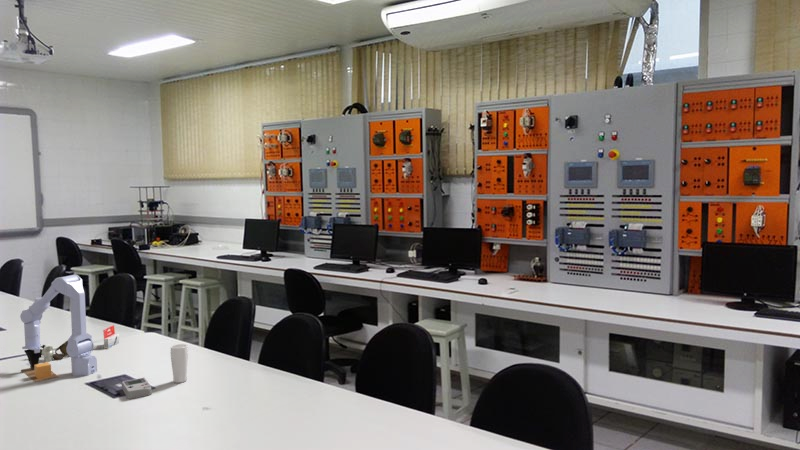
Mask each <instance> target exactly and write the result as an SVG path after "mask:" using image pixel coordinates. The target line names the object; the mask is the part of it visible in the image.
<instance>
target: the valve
mask: <svg viewBox="0 0 800 450" xmlns="http://www.w3.org/2000/svg"><path fill="white" fill-rule="evenodd" d="M53 349H54V348H53V346H51V345H50V346H46V344H42V345H41V347H40V350H42V353H41V355H40V358H42V356H43V362H44V363H46V362H48V363H49V362H52V361H54V358H53V354H54V350H53ZM40 358H39V359H40Z"/></svg>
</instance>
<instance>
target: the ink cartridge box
mask: <svg viewBox="0 0 800 450" xmlns="http://www.w3.org/2000/svg"><path fill="white" fill-rule="evenodd" d="M102 332H103V349H104V350H109V349H111V348H112V346H113V347H115V346H117V345H118V344H119V343H120V334H119V333H115V325H111V326H109V327H107V328H104V329H103V330H102Z"/></svg>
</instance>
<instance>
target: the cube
mask: <svg viewBox="0 0 800 450" xmlns="http://www.w3.org/2000/svg"><path fill="white" fill-rule="evenodd" d="M34 368H35V377H36V378H38V379H40V378H45V377H49V376H51V371H52V365H51V363H49V362H41V363H38V364H36V365H34Z"/></svg>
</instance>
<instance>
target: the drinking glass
mask: <svg viewBox="0 0 800 450" xmlns="http://www.w3.org/2000/svg"><path fill="white" fill-rule="evenodd" d="M188 352H189V348H188V345H187V344H184V343H181V344H180V343H179V344H174V345H171V346H170V362H171V369H172V376H173V378H172V379H173V380H172V381H173V382H174V384H175V383H176V384H179V383H184V382H187V379H188V360H189V353H188Z"/></svg>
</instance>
